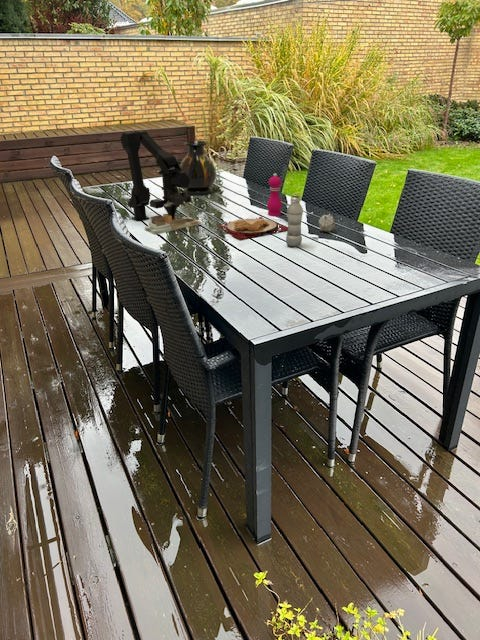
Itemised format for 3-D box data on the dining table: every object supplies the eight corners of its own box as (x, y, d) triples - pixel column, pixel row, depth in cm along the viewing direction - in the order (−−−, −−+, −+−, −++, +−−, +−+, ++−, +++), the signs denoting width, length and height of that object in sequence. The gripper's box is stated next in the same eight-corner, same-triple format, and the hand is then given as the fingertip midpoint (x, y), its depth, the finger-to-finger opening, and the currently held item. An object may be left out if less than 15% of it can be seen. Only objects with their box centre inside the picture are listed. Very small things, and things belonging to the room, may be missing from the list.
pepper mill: (280, 216, 237) (281, 174, 228) (266, 216, 239) (266, 174, 230) (282, 212, 244) (283, 172, 234) (268, 212, 245) (268, 171, 236)
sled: (148, 226, 220) (147, 216, 218) (165, 222, 225) (165, 213, 223) (155, 229, 216) (154, 219, 214) (172, 225, 221) (172, 216, 219)
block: (151, 224, 220) (150, 216, 218) (160, 222, 222) (159, 215, 221) (156, 226, 217) (155, 218, 215) (165, 224, 219) (164, 217, 217)
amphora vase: (215, 196, 276) (213, 144, 263) (177, 197, 276) (174, 145, 263) (217, 188, 295) (215, 139, 282) (182, 188, 295) (179, 139, 282)
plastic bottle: (303, 243, 201) (305, 195, 192) (299, 249, 195) (301, 199, 186) (288, 242, 203) (289, 194, 194) (283, 247, 197) (285, 198, 188)
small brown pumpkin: (329, 239, 218) (343, 221, 215) (324, 237, 210) (339, 219, 207) (314, 226, 220) (328, 209, 217) (309, 225, 212) (324, 206, 209)
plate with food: (290, 232, 218) (290, 224, 216) (239, 241, 206) (239, 233, 204) (260, 220, 237) (260, 212, 235) (212, 227, 225) (212, 219, 223)
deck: (145, 230, 221) (144, 221, 219) (189, 220, 234) (188, 211, 233) (155, 234, 215) (154, 225, 213) (199, 224, 228) (199, 215, 226)
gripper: (160, 191, 205) (163, 227, 212) (197, 185, 215) (198, 219, 223) (147, 187, 213) (151, 222, 220) (183, 181, 223) (185, 214, 230)
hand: (172, 219), depth 223 cm, fingers closed
